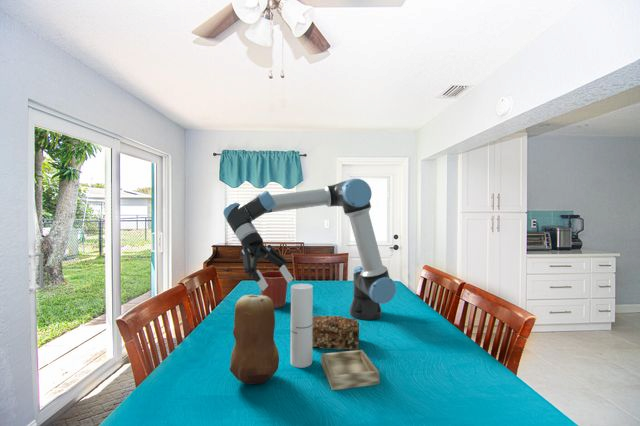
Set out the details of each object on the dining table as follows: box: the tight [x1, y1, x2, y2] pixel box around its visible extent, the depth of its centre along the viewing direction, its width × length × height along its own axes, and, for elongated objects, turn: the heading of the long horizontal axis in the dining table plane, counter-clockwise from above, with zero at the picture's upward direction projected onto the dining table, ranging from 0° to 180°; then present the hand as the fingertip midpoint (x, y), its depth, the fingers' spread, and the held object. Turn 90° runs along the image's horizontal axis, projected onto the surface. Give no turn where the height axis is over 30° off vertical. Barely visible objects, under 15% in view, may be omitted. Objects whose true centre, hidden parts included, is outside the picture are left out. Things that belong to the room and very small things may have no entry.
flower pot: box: [260, 270, 289, 309], centre depth 157 cm, size 16×16×16 cm
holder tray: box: [320, 349, 380, 391], centre depth 92 cm, size 14×14×4 cm
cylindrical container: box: [290, 283, 314, 369], centre depth 99 cm, size 7×7×25 cm
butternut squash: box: [229, 293, 280, 386], centre depth 88 cm, size 14×13×25 cm
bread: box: [312, 315, 360, 351], centre depth 112 cm, size 19×11×10 cm, turn 83°
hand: (278, 284), depth 104 cm, fingers open, 13 cm apart
